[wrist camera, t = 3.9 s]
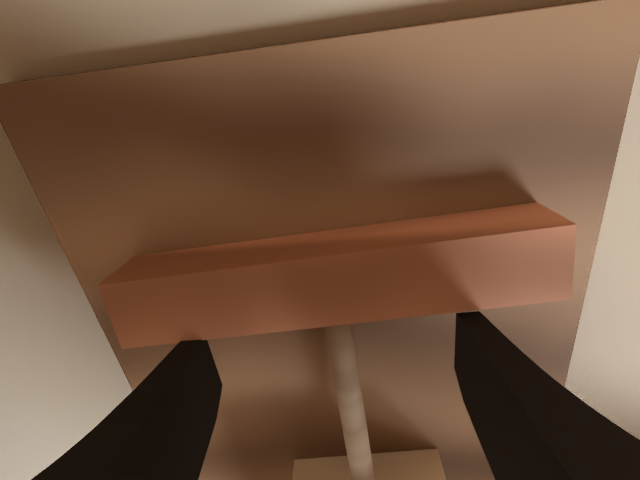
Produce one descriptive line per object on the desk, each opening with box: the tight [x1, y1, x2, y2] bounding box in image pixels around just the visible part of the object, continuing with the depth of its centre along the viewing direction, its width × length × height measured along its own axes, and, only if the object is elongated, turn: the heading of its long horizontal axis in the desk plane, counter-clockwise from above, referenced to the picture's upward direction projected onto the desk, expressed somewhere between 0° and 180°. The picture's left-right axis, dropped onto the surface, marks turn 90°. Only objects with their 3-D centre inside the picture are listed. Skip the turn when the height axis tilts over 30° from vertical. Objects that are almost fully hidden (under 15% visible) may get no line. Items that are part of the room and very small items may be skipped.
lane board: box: [0, 0, 640, 480], centre depth 16 cm, size 32×16×4 cm, turn 7°
